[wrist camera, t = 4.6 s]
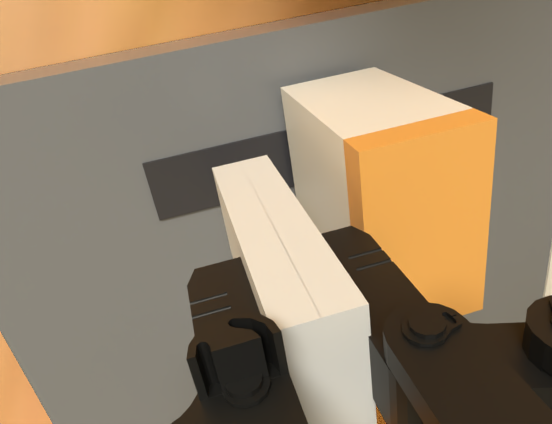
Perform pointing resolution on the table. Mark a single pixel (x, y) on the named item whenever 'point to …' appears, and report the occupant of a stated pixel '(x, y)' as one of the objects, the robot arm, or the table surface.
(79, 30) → the table surface
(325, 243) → the robot arm
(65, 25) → the table surface
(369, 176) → the handle
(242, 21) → the table surface
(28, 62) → the table surface
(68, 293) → the panel
